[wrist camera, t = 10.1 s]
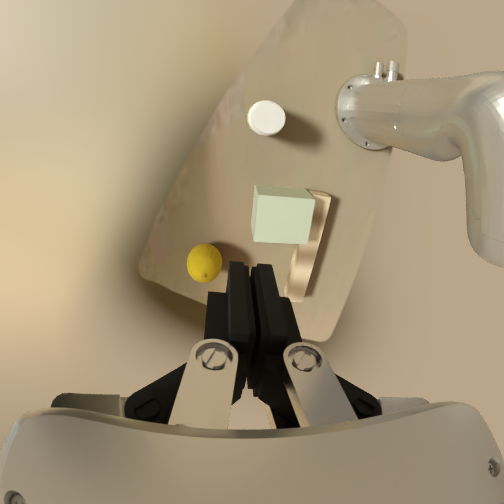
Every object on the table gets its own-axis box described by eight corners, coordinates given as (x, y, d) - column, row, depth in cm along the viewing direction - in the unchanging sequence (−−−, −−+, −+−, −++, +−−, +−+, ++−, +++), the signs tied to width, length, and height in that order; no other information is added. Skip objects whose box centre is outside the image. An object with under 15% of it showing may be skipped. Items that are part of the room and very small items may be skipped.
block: (254, 183, 41) (258, 194, 36) (304, 188, 42) (315, 199, 37) (251, 225, 45) (253, 241, 40) (298, 228, 46) (307, 244, 40)
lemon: (228, 244, 46) (228, 270, 39) (213, 269, 48) (211, 297, 41) (198, 230, 44) (193, 253, 37) (185, 256, 46) (177, 282, 39)
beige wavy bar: (307, 189, 42) (313, 194, 40) (325, 192, 43) (331, 197, 40) (283, 291, 52) (286, 301, 49) (299, 292, 52) (302, 302, 49)
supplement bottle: (284, 119, 37) (297, 121, 29) (260, 139, 38) (267, 145, 31) (262, 96, 35) (270, 91, 27) (238, 116, 36) (240, 116, 29)
